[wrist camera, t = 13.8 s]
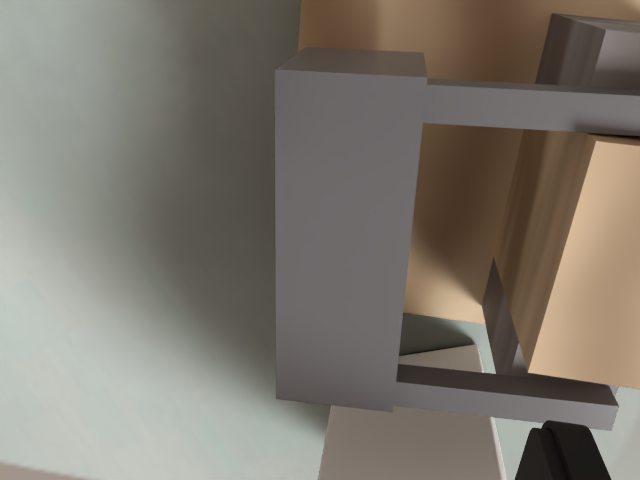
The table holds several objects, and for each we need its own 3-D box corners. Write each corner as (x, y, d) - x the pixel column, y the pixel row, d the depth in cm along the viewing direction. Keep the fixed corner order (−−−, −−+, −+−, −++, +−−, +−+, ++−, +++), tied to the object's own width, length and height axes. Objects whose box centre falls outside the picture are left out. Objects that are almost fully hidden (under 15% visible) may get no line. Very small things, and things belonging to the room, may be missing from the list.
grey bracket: (300, 320, 25) (276, 398, 20) (305, 47, 20) (274, 69, 16) (572, 347, 23) (611, 437, 19) (644, 63, 19) (718, 92, 14)
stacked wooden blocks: (287, 279, 29) (235, 411, 20) (309, -39, 23) (249, -44, 14) (560, 318, 27) (629, 476, 19) (661, -5, 21) (828, 12, 13)
